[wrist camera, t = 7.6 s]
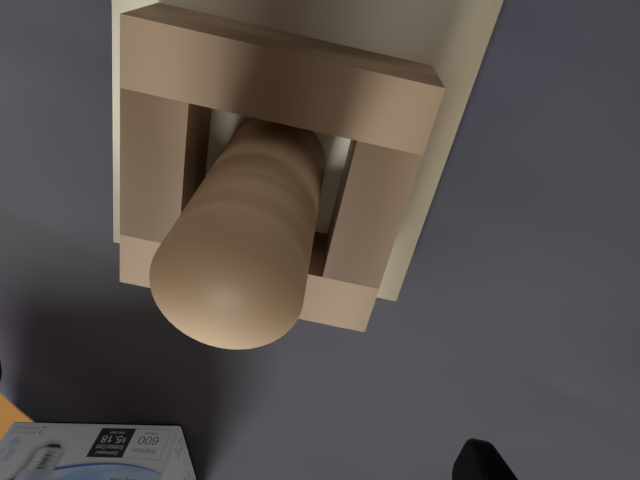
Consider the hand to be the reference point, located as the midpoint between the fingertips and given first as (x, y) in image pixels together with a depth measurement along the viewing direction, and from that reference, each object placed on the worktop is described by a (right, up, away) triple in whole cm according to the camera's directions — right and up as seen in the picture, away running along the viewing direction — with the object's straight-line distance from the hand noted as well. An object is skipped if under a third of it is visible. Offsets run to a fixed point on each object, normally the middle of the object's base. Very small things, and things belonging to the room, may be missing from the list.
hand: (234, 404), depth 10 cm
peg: (0, +6, +9) cm, 11 cm away
